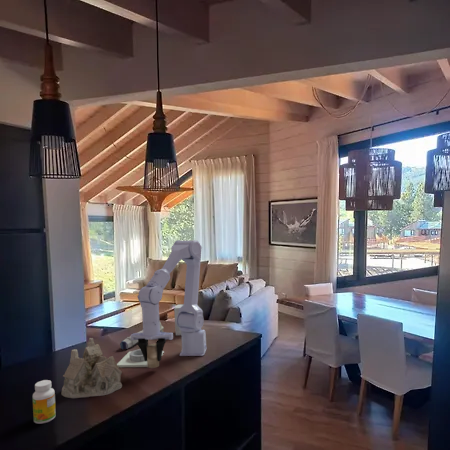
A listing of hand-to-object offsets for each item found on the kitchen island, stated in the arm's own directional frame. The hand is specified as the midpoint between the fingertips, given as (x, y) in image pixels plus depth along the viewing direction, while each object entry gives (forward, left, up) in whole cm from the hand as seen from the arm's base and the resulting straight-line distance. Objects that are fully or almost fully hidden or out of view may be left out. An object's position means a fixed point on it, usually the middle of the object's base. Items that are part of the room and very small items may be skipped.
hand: (153, 360), depth 130 cm
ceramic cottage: (+16, +13, -4) cm, 21 cm away
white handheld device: (+14, -34, -4) cm, 37 cm away
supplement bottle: (+21, +31, -4) cm, 38 cm away
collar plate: (+8, -11, -4) cm, 14 cm away
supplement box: (-2, -44, -4) cm, 44 cm away
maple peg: (0, 0, -2) cm, 2 cm away
